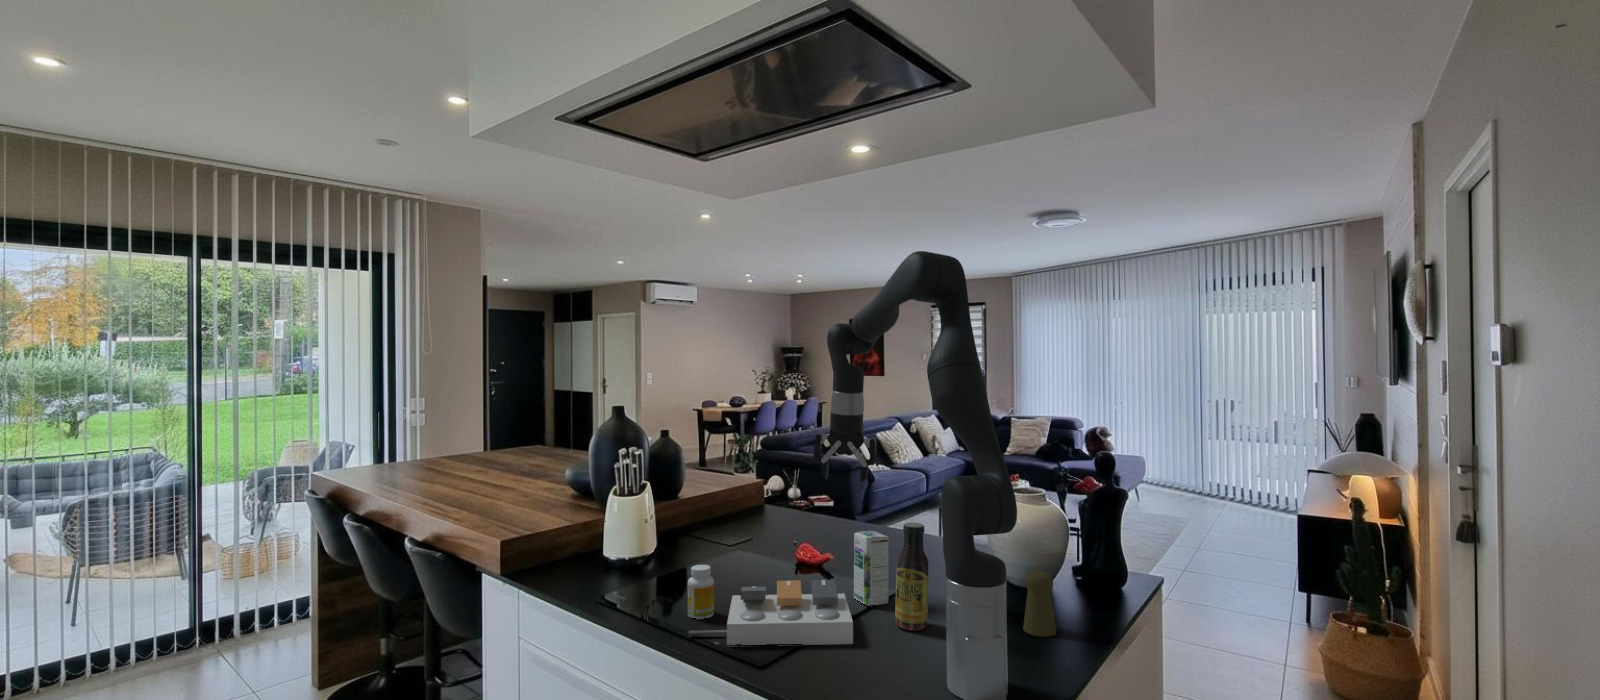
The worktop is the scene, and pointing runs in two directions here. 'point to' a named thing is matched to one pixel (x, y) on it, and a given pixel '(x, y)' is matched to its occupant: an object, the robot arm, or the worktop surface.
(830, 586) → the block
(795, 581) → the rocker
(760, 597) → the block
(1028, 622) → the yellow pepper mill
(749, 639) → the power strip
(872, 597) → the syrup box
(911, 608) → the sauce bottle
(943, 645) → the worktop surface
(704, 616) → the supplement bottle
